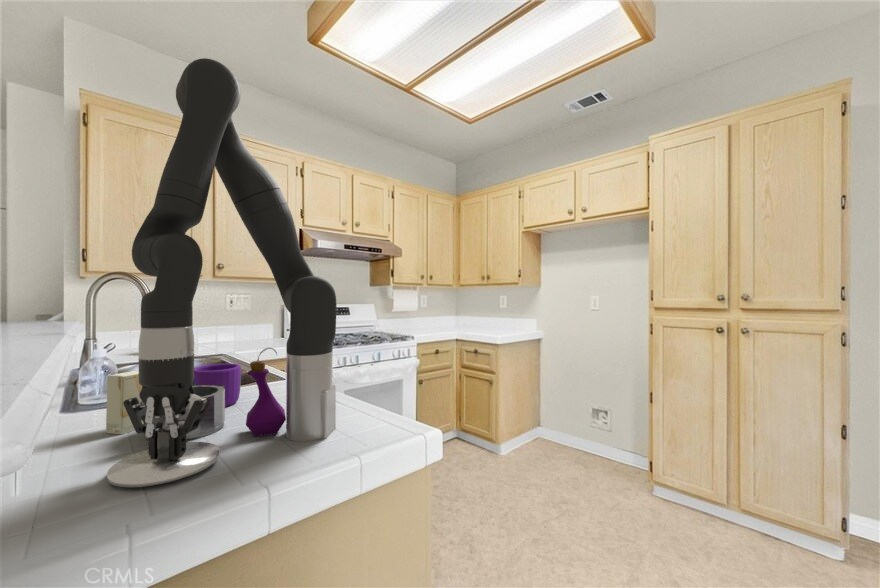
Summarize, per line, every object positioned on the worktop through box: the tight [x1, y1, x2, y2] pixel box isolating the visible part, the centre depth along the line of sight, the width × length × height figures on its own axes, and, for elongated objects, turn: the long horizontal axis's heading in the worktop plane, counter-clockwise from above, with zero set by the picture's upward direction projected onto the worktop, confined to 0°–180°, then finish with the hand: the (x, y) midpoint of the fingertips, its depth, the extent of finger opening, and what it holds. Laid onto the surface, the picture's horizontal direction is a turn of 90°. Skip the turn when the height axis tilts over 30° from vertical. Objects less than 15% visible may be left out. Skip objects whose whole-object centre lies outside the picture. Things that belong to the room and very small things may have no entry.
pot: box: [140, 385, 226, 442], centre depth 81 cm, size 14×22×8 cm, turn 177°
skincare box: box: [105, 370, 144, 435], centre depth 82 cm, size 6×4×12 cm
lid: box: [107, 427, 221, 488], centre depth 63 cm, size 15×15×7 cm
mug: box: [192, 363, 242, 408], centre depth 103 cm, size 17×11×10 cm, turn 44°
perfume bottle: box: [245, 346, 286, 437], centre depth 81 cm, size 8×8×18 cm
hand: (167, 457), depth 63 cm, fingers closed on lid, 2 cm apart
